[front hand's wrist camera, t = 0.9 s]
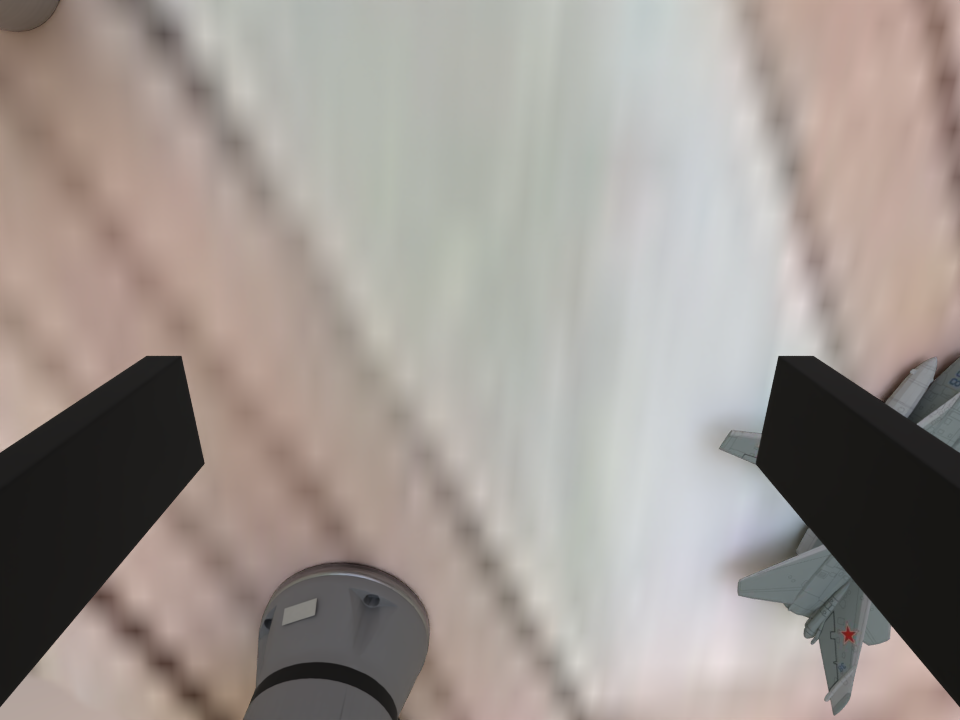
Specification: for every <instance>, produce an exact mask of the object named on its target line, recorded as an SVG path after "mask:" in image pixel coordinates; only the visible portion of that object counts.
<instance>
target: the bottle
mask: <svg viewBox="0 0 960 720" xmlns="http://www.w3.org/2000/svg"><path fill="white" fill-rule="evenodd" d="M58 2H59V0H0V29H2V30H7V31H27V30H30V29H33V28H36V27H38V26H40V25H41V24H43V23H44V22H45V21H46V20H47V19H48V18H49V17H50V16H51V15H52V14H53V12H54V11H55V9H56V7H57V5H58Z"/></svg>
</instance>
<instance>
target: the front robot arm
mask: <svg viewBox="0 0 960 720" xmlns="http://www.w3.org/2000/svg"><path fill="white" fill-rule="evenodd" d="M204 464H205V463H204V459H203V454H202V449H201V445H200V440H199V435H198V431H197V426H196V421H195V417H194V412H193V408H192V403H191V398H190V394H189V389H188V384H187V380H186V375H185V370H184V366H183V361H182V356H146V357H144V358H143V359H141V360H140V361H138V362H137V363H135V364H134V365H132V366H131V367H129V368H128V369H126V370H125V371H123V372H122V373H120V374H119V375H117V376H116V377H114V378H113V379H111V380H110V381H108V382H107V383H105V384H103V385H102V386H100V387H99V388H97V389H96V390H94V391H93V392H91V393H90V394H88V395H87V396H85V397H84V398H82V399H81V400H79V401H78V402H76V403H75V404H73V405H72V406H70V407H69V408H67V409H66V410H64V411H63V412H61V413H60V414H58V415H57V416H55V417H54V418H52V419H51V420H49V421H48V422H46V423H44V424H43V425H41V426H40V427H38V428H37V429H35V430H34V431H32V432H31V433H29V434H28V435H26V436H25V437H23V438H22V439H20V440H19V441H17V442H16V443H14V444H13V445H11V446H10V447H8V448H7V449H5V450H4V451H2V452H1V453H0V707H1V706H2V704H3V703H4V702H5V701H6V700H7V698H8V697H9V696H10V695H11V694H12V692H13V691H14V690H15V689H16V688H17V686H18V685H19V684H20V683H21V682H22V681H23V679H24V678H25V677H26V676H27V675H28V673H29V672H30V671H31V670H32V669H33V667H34V666H35V665H36V664H37V663H38V661H39V660H40V659H41V658H42V657H43V656H44V654H45V653H46V652H47V651H48V650H49V648H50V647H51V646H52V645H53V644H54V642H55V641H56V640H57V639H58V638H59V636H60V635H61V634H62V633H63V632H64V630H65V629H66V628H67V627H68V626H69V625H70V623H71V622H72V621H73V620H74V619H75V617H76V616H77V615H78V614H79V613H80V611H81V610H82V609H83V608H84V607H85V605H86V604H87V603H88V602H89V601H90V600H91V598H92V597H93V596H94V595H95V594H96V592H97V591H98V590H99V589H100V588H101V586H102V585H103V584H104V583H105V582H106V580H107V579H108V578H109V577H110V576H111V575H112V573H113V572H114V571H115V570H116V569H117V567H118V566H119V565H120V564H121V563H122V561H123V560H124V559H125V558H126V557H127V555H128V554H129V553H130V552H131V551H132V550H133V548H134V547H135V546H136V545H137V544H138V542H139V541H140V540H141V539H142V538H143V536H144V535H145V534H146V533H147V532H148V530H149V529H150V528H151V527H152V526H153V524H154V523H155V522H156V521H157V520H158V519H159V517H160V516H161V515H162V514H163V513H164V511H165V510H166V509H167V508H168V507H169V505H170V504H171V503H172V502H173V501H174V499H175V498H176V497H177V496H178V495H179V494H180V492H181V491H182V490H183V489H184V488H185V486H186V485H187V484H188V483H189V482H190V480H191V479H192V478H193V477H194V476H195V474H196V473H197V472H198V471H199V470H200V469H201V467H202V466H203V465H204ZM755 464H756V465H757V466H758V467H759V469H760V470H761V471H762V472H763V473H764V474H765V476H766V477H767V478H768V479H769V480H770V482H771V483H772V484H773V485H774V486H775V488H776V489H777V490H778V491H779V492H780V494H781V495H782V496H783V497H784V498H785V499H786V501H787V502H788V503H789V504H790V505H791V507H792V508H793V509H794V510H795V511H796V513H797V514H798V515H799V516H800V517H801V519H802V520H803V521H804V522H805V523H806V524H807V526H808V527H809V528H810V529H811V530H812V532H813V533H814V534H815V535H816V536H817V538H818V539H819V540H820V541H821V542H822V544H823V545H824V546H825V547H826V548H827V550H828V551H829V552H830V553H831V554H832V555H833V557H834V558H835V559H836V560H837V561H838V563H839V564H840V565H841V566H842V567H843V569H844V570H845V571H846V572H847V573H848V575H849V576H850V577H851V578H852V579H853V580H854V582H855V583H856V584H857V585H858V586H859V588H860V589H861V590H862V591H863V592H864V594H865V595H866V596H867V597H868V598H869V600H870V601H871V602H872V603H873V604H874V605H875V607H876V608H877V609H878V610H879V611H880V613H881V614H882V615H883V616H884V617H885V619H886V620H887V621H888V622H889V623H890V625H891V626H892V627H893V628H894V629H895V630H896V632H897V633H898V634H899V635H900V636H901V638H902V639H903V640H904V641H905V642H906V644H907V645H908V646H909V647H910V648H911V650H912V651H913V652H914V653H915V654H916V656H917V657H918V658H919V659H920V660H921V661H922V663H923V664H924V665H925V666H926V667H927V669H928V670H929V671H930V672H931V673H932V675H933V676H934V677H935V678H936V679H937V681H938V682H939V683H940V684H941V685H942V686H943V688H944V689H945V690H946V691H947V692H948V694H949V695H950V696H951V697H952V698H953V700H954V701H955V702H956V703H957V704H958V706H959V707H960V453H959V452H958V451H956V450H955V449H953V448H952V447H950V446H949V445H947V444H946V443H944V442H943V441H941V440H940V439H938V438H937V437H935V436H934V435H932V434H931V433H929V432H928V431H926V430H925V429H923V428H922V427H920V426H919V425H917V424H916V423H914V422H912V421H911V420H909V419H908V418H906V417H905V416H903V415H902V414H900V413H899V412H897V411H896V410H894V409H893V408H891V407H890V406H888V405H887V404H885V403H884V402H882V401H881V400H879V399H878V398H876V397H875V396H873V395H872V394H870V393H869V392H867V391H866V390H864V389H863V388H861V387H860V386H858V385H857V384H855V383H853V382H852V381H850V380H849V379H847V378H846V377H844V376H843V375H841V374H840V373H838V372H837V371H835V370H834V369H832V368H831V367H829V366H828V365H826V364H825V363H823V362H822V361H820V360H819V359H817V358H816V357H814V356H778V361H777V366H776V370H775V375H774V380H773V384H772V389H771V394H770V398H769V403H768V408H767V412H766V417H765V421H764V426H763V431H762V435H761V440H760V445H759V449H758V454H757V459H756V463H755Z"/></svg>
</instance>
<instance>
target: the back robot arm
mask: <svg viewBox="0 0 960 720" xmlns="http://www.w3.org/2000/svg"><path fill="white" fill-rule="evenodd" d="M429 634H430V627H429V620H428V616H427V613H426V611H425V608H424V606H423V605H422V603H421V601H420V600H419V598H418V597H417V596H416V595H415V594H414V592H413V591H411V590H410V589H409V588H408V587H407V586H406V585H405V584H403V583H402V582H401V581H399V580H398V579H396V578H394V577H393V576H391V575H389V574H387V573H385V572H382V571H380V570H377V569H374V568H371V567H367V566H362V565H357V564H347V563H334V564H324V565H319V566H315V567H311V568H308V569H305V570H303V571H300V572H299V573H297V574H295V575H293V576H291V577H290V578H288V579H287V580H286V581H285V582H283V583H282V584H281V585H280V586H279V587H278V588H277V590H276V591H275V592H274V594H273V595H272V597H271V599H270V601H269V603H268V605H267V608H266V610H265V612H264V614H263V617H262V621H261V625H260V630H259V640H258V658H257V676H256V689H255V692H254V694H253V697H252V699H251V702H250V704H249V707H248V709H247V711H246V714H245V716H244V718H243V720H400V719H399V718H398V716H399V714H400V712H401V710H402V708H403V706H404V704H405V702H406V700H407V698H408V695H409V693H410V691H411V689H412V687H413V685H414V683H415V680H416V678H417V676H418V674H419V673H420V671H421V669H422V667H423V664H424V661H425V658H426V655H427V651H428V643H429Z"/></svg>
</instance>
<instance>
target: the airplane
mask: <svg viewBox="0 0 960 720" xmlns="http://www.w3.org/2000/svg"><path fill="white" fill-rule="evenodd" d="M936 368H937V358H936V357H934V358H930V359H928V360H926V361H925V362H923V363H922V364H920V365H919V366H918V367H916V368H915V369H912V370H911V371H910V374H909V375H908V376H907V377H906V378H905V379H904V381H903V382H902V383H901V384H900V385H899V387H898V388H897V389H896V390H895V391H894V393H893V394H892V395H891V396H890V397H889V399H888V400H887V401H886V402H885V404H887V405H888V406H890V407H891V408H893V409H894V410H896V411H897V412H899V413H900V414H902V415H903V416H905V417H906V418H908V419H909V420H911V421H912V422H914V423H916V424H917V425H919V426H920V427H922V428H923V429H925V430H926V431H928V432H929V433H931V434H932V435H934V436H935V437H937V438H938V439H940V440H941V441H943V442H944V443H946V444H947V445H949V446H950V447H952V448H953V449H955V450H956V451H958V452H959V453H960V357H959V358H958V359H957V360H956V361H955V362H954V363H952V364H951V365H950V366H949V367H948V368H947V369H946V370H945V371H944V372H943V373H942V374H941V375H939V376H938V377H937V378H936V379H935V380H934V379H933V377H934V374H935V371H936ZM933 381H934V382H933ZM932 382H933V383H932ZM930 383H932V384H931V385H930ZM929 385H930V387H929ZM928 387H929V388H928ZM927 388H928V389H927ZM925 391H926V392H925ZM761 435H762V434H760V433H752V432H743V431H735V430H731V431H730V433H729V434H728V435H727V437H726V438H725V440H724V441H723V443H722V445H721V446H720V448H719V449H720V450H723V451H725V452H727V453H730V454H732V455H735V456H737V457H739V458H742V459H744V460H746V461H749V462H751V463H754V464H755V463H756V459H757V454H758V449H759V445H760V440H761ZM796 553H797V556H795V557H792V558H790V559H788V560H785V561H783V562H780V563H778V564H776V565H773V566H771V567H768V568H766V569H764V570H761V571H759V572H757V573H754V574H752V575H749V576H747V577H745V578H742V579H740V580H739V582H738V596H743V597H747V598H752V599H759V600H766V601H772V602H779V603H783V604H784V605H785V606H786V607H787V608H788V610H789V611H792V612H793V613H795V614H798V615H803V616H805V617H808V618H809V619H808V620H807V622H806V623H805V629H804V637H805V638H813V637H814V636H815V637H814V638H813V640H812V641H811V644H814V643H815V642H816V641H817V640H818V639H819V643H820V649H821V654H822V659H823V664H824V669H825V675H826V680H827V685H828V690H829V692H828V694H827V695H826V696H825V698H824V700H825V701H829V700H831V705H832V711H833V715H836V714H837V713H839V712H840V711H841V710H842V709H843V708H844V707H845V705H846V704H847V703H848V701H849V699H850V696H851V691H852V686H853V681H854V676H855V672H856V668H857V664H858V659H859V655H860V651H861V647H862V642H864V643H865V644H867V645H868V646H869V645H875V644H880V643H883V642H885V641H887V640H889V639H890V629H891V625H890V623H889V622H888V621H887V620H886V619H885V617H884V616H883V615H882V614H881V613H880V611H879V610H878V609H877V608H876V607H875V605H874V604H873V603H872V602H871V601H870V600H869V598H868V597H867V596H866V595H865V594H864V592H863V591H862V590H861V589H860V588H859V586H858V585H857V584H856V583H855V582H854V580H853V579H852V578H851V577H850V576H849V575H848V573H847V572H846V571H845V570H844V569H843V567H842V566H841V565H840V564H839V563H838V561H837V560H836V559H835V558H834V557H833V555H832V554H831V553H830V552H829V551H828V550H827V548H826V547H825V546H824V545H823V544H822V542H821V541H820V540H819V539H818V538H817V536H816V535H815V534H814V533H813V532H812V530H811V529H810V528H808V530H807V531H806V533H805V535H804V537H803V539H802V540H801V542H800V544H799V546H798V548H797V549H796Z"/></svg>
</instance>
